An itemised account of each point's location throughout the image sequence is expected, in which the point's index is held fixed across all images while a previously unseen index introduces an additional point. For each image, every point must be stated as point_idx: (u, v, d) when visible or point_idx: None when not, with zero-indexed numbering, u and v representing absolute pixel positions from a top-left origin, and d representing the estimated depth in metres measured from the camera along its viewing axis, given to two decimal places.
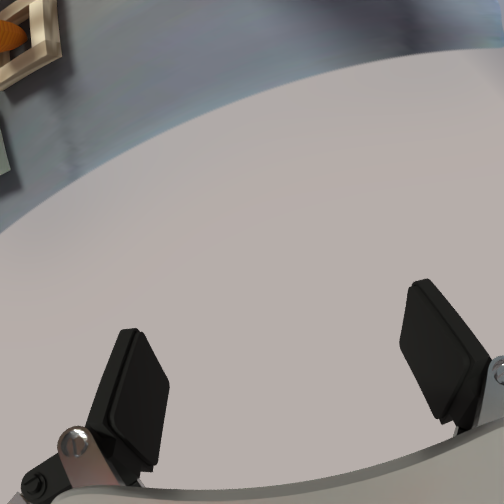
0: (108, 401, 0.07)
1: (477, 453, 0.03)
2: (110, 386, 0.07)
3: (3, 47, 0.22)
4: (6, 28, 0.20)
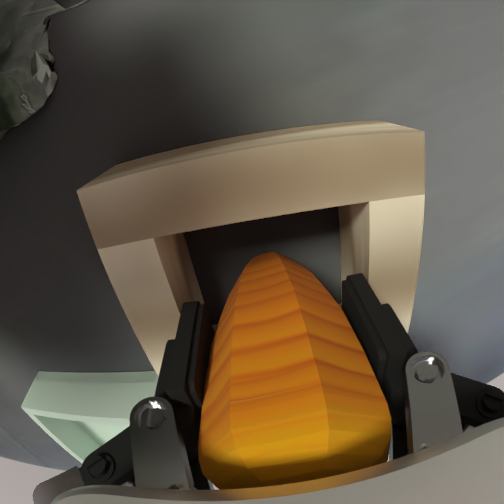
0: (186, 368, 0.08)
1: (477, 453, 0.03)
2: (184, 354, 0.08)
3: None
4: None
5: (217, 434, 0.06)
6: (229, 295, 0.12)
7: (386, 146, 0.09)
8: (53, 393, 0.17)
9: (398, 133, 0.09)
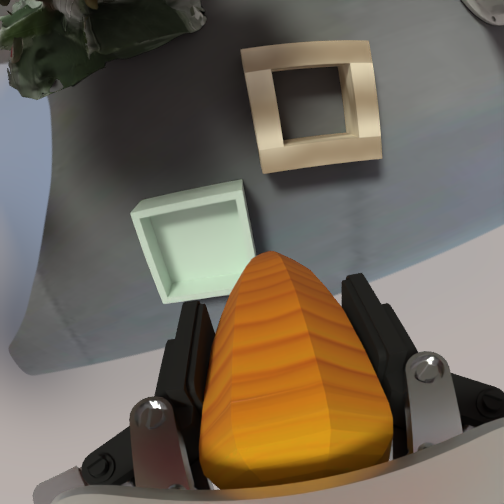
0: (186, 367, 0.08)
1: (477, 453, 0.03)
2: (184, 353, 0.08)
3: None
4: None
5: (217, 434, 0.06)
6: (230, 295, 0.12)
7: (354, 44, 0.22)
8: (160, 201, 0.31)
9: None
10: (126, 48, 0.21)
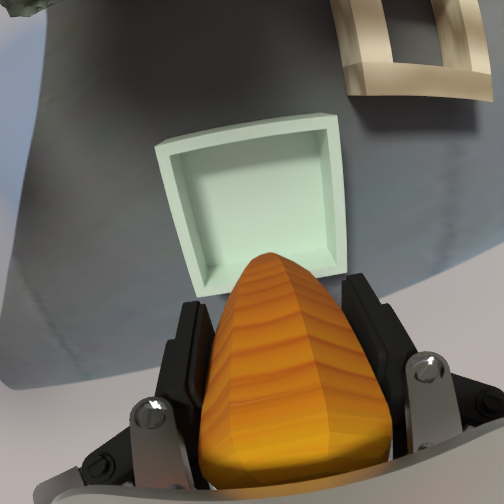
0: (186, 368, 0.08)
1: (477, 453, 0.03)
2: (184, 354, 0.08)
3: None
4: None
5: (217, 436, 0.06)
6: (229, 296, 0.12)
7: None
8: (203, 132, 0.19)
9: None
10: None
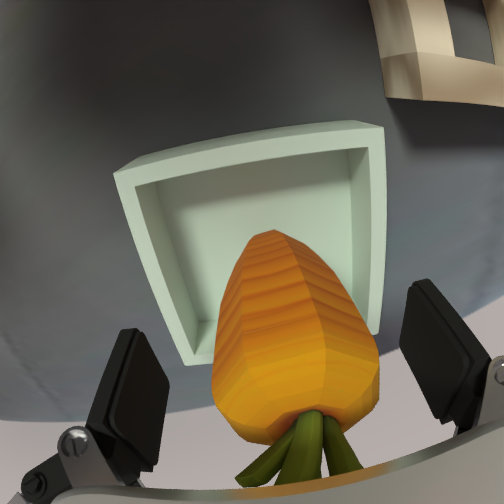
0: (109, 401, 0.07)
1: (477, 453, 0.03)
2: (110, 386, 0.07)
3: None
4: None
5: (230, 363, 0.07)
6: (235, 265, 0.14)
7: None
8: (185, 149, 0.13)
9: None
10: None
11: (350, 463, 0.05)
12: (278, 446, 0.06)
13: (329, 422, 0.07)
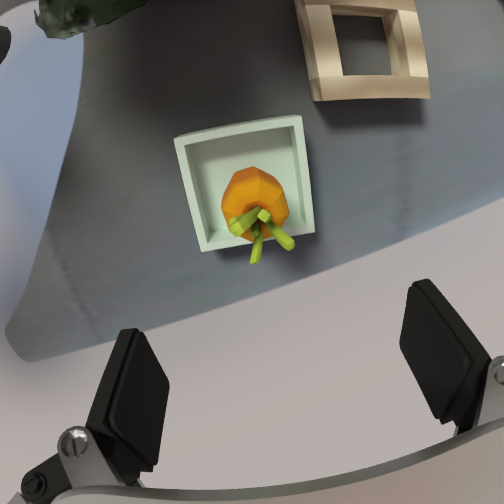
0: (108, 402, 0.07)
1: (477, 453, 0.03)
2: (110, 386, 0.07)
3: None
4: None
5: (228, 192, 0.21)
6: None
7: None
8: (207, 129, 0.27)
9: None
10: None
11: None
12: (244, 214, 0.20)
13: None
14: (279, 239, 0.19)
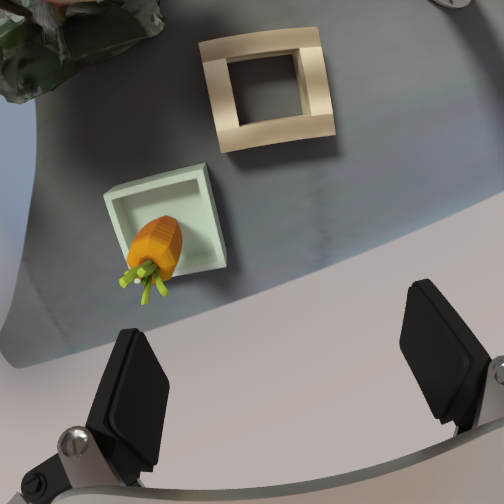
0: (108, 401, 0.07)
1: (477, 453, 0.03)
2: (110, 386, 0.07)
3: None
4: (179, 245, 0.29)
5: (130, 247, 0.26)
6: None
7: (303, 31, 0.25)
8: (131, 184, 0.33)
9: (306, 27, 0.25)
10: (93, 54, 0.23)
11: (149, 266, 0.24)
12: None
13: (153, 263, 0.26)
14: (157, 288, 0.24)
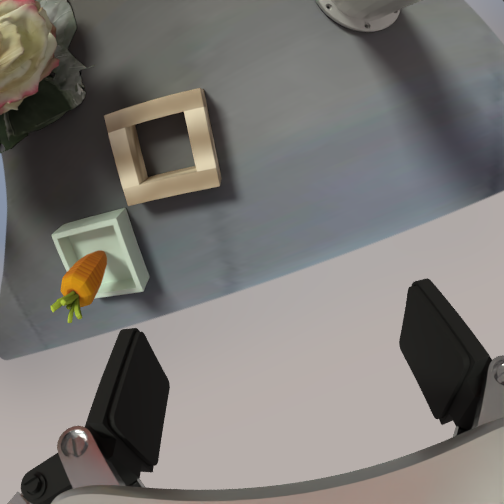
0: (108, 401, 0.07)
1: (477, 453, 0.03)
2: (110, 386, 0.07)
3: None
4: (98, 278, 0.36)
5: None
6: None
7: (187, 94, 0.31)
8: (71, 226, 0.39)
9: (190, 90, 0.31)
10: (30, 129, 0.30)
11: (69, 297, 0.31)
12: None
13: (75, 294, 0.33)
14: (75, 312, 0.31)
